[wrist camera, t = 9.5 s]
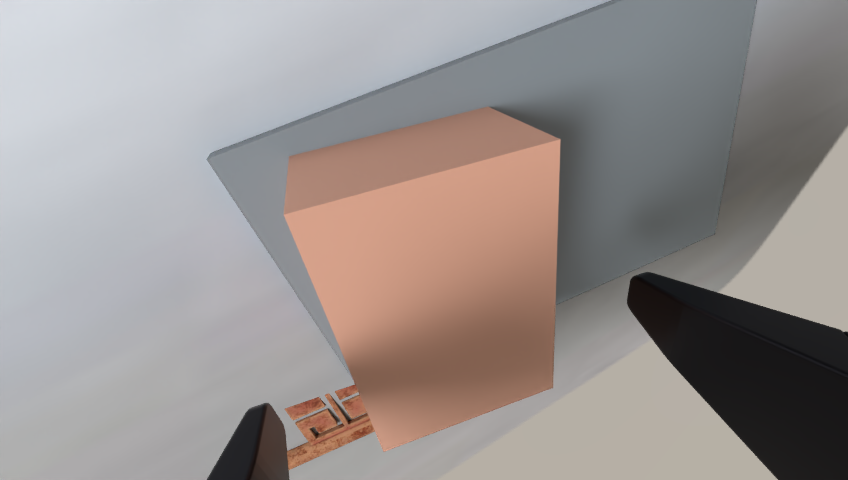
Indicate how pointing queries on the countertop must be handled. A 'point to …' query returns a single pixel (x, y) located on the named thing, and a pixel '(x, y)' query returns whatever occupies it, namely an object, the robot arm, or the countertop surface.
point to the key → (328, 426)
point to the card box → (434, 264)
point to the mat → (557, 132)
